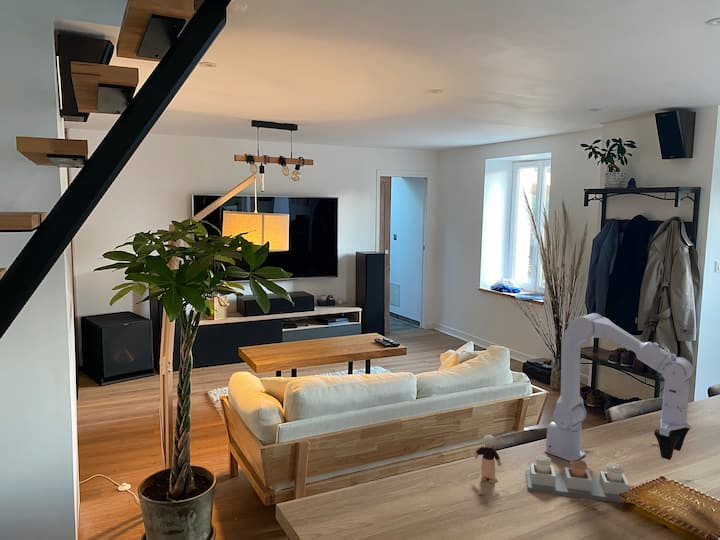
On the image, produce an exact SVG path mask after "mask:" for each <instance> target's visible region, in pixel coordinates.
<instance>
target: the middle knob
mask: <svg viewBox="0 0 720 540" xmlns="http://www.w3.org/2000/svg"><path fill="white" fill-rule="evenodd" d="M587 465H588V464H587V462H586V461H584V460H581V459H578V460H576V459H575V460H571V461H570V468H571V476H573V477H578V478H585V472H586V470H587V467H588V466H587Z"/></svg>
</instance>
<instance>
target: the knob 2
mask: <svg viewBox="0 0 720 540" xmlns="http://www.w3.org/2000/svg"><path fill="white" fill-rule="evenodd" d="M606 470H607V471H606V472H607V480H608V481H612V482H620V483H621V482H622V474H623V473H624V467H623V466H622V465H621V464H617V463H607V464H606Z"/></svg>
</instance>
